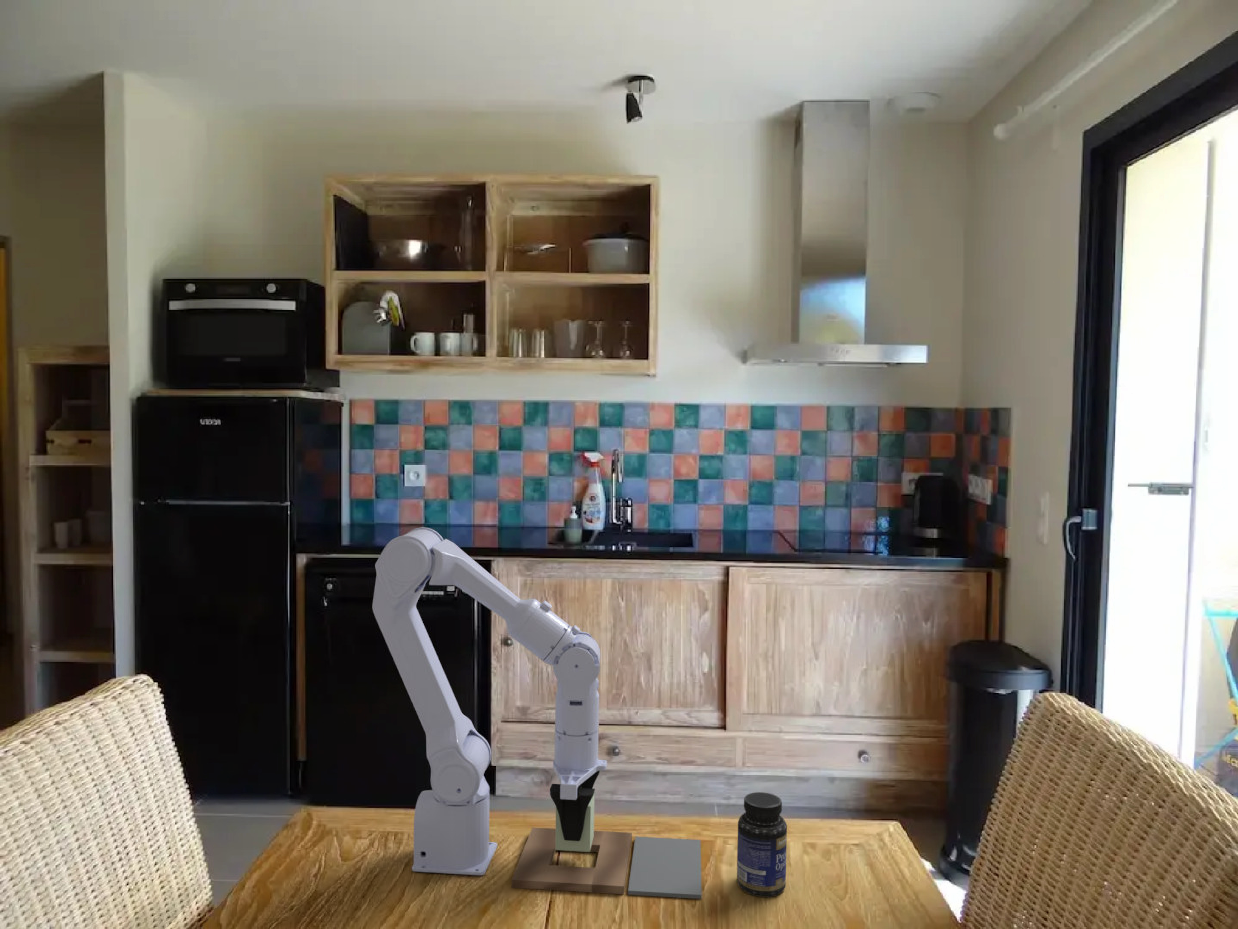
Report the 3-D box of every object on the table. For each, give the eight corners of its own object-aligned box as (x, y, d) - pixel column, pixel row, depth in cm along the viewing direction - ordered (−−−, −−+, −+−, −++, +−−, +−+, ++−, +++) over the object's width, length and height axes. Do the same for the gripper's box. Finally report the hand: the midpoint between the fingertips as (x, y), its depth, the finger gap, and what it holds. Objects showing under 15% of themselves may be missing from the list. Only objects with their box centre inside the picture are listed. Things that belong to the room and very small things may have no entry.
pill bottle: (785, 901, 105) (787, 813, 105) (734, 895, 106) (736, 807, 106) (785, 876, 111) (787, 791, 111) (738, 870, 113) (739, 787, 112)
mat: (628, 894, 106) (628, 890, 106) (635, 840, 120) (635, 836, 120) (701, 899, 106) (701, 895, 106) (700, 843, 119) (700, 840, 119)
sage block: (555, 850, 112) (555, 804, 111) (560, 833, 116) (561, 789, 116) (589, 852, 111) (590, 806, 111) (593, 835, 116) (594, 791, 116)
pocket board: (511, 887, 107) (511, 879, 107) (532, 834, 121) (532, 827, 121) (623, 894, 106) (624, 886, 106) (631, 840, 120) (631, 832, 120)
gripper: (601, 751, 105) (599, 859, 106) (612, 711, 120) (610, 807, 121) (544, 748, 106) (542, 856, 107) (561, 709, 120) (560, 804, 121)
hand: (575, 830), depth 114 cm, fingers closed on sage block, 4 cm apart
